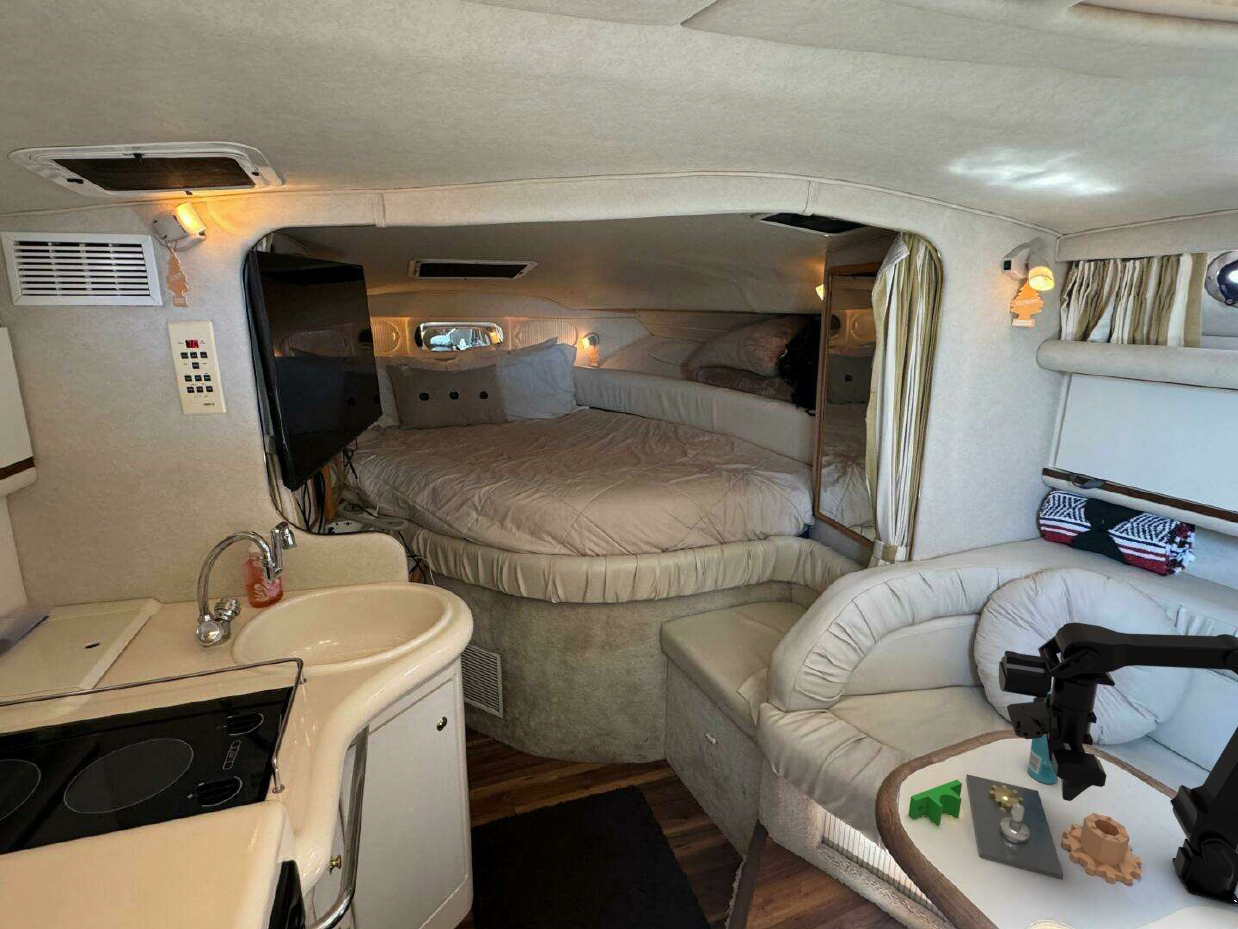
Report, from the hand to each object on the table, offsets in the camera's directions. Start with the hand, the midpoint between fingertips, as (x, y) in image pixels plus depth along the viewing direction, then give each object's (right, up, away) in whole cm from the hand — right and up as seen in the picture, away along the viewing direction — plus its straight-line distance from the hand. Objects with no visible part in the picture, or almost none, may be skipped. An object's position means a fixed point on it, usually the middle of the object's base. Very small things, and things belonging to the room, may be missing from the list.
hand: (1059, 779), depth 106 cm
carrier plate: (-4, -12, +7) cm, 14 cm away
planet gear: (+7, -13, +1) cm, 15 cm away
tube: (+10, -9, +18) cm, 23 cm away
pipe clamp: (-15, -12, +10) cm, 22 cm away
